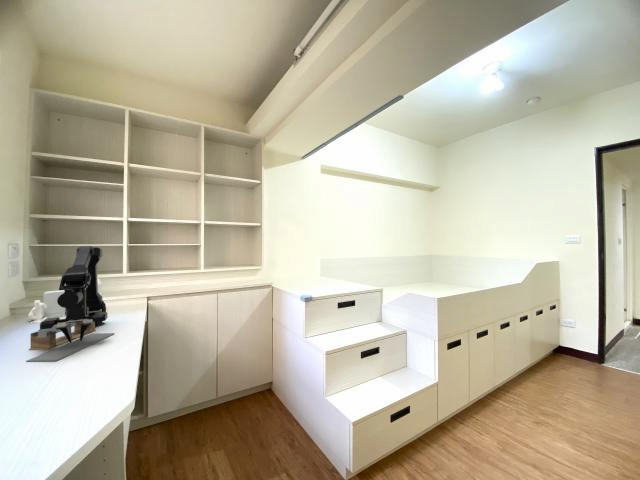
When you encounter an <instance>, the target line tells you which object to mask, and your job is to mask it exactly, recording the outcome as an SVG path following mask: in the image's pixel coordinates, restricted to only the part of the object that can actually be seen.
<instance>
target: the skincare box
mask: <svg viewBox="0 0 640 480" xmlns="http://www.w3.org/2000/svg"><path fill="white" fill-rule="evenodd" d="M64 292H65V290H59V289H57V290H51V291H45V292H44V293H42V296H43V299H42V300H43V303H44V304H46V306H47V308H46V309H43V317H44V318H45V317H47V319H48V318H56V317H59V318H61V317H66V315H65V310H66V308H63V307H61V306H59V305H58V303H57V299H58V297H59V296H60V295H62V294H63V293H64Z"/></svg>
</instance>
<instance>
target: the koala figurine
mask: <svg viewBox="0 0 640 480" xmlns="http://www.w3.org/2000/svg"><path fill="white" fill-rule="evenodd" d="M33 304H34V306H33V308H32V309H30V311H29V313H28V319H29V320H33V321H31V323H32V322H33V323H41V322H42V321H44V320H45V319H48V318H47V317H44V309H46V308H47V306H46V304H44V302H41V300H39V299H37V300H33ZM43 317H44V318H43ZM33 323H32V324H33Z"/></svg>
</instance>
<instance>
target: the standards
mask: <svg viewBox="0 0 640 480" xmlns="http://www.w3.org/2000/svg"><path fill="white" fill-rule="evenodd" d="M82 324H83V323H81V324H78V325H76V326H73V327H74V330H73V331H71V333H72V341H75V340H77V339H80V332H81V325H82ZM96 331H97V329H96V327H95V322H93V323H92V324H91V325H89V326H88V328H87V330H86V332H85V334H84V336H87V335H89V334H92V333H95V332H96ZM68 343H70V342H69V341H68V339H67V338H66V336H65V335H64V334H63V335H62V336H59V337H57V333H56V331H52V332H49V333H47V337H45V338H38V330H37V331H34V332H31V333H30V347H29V348H28V351H51V350H53V349H56V348H58V347H60V346H63V345H65V344H68Z"/></svg>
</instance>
